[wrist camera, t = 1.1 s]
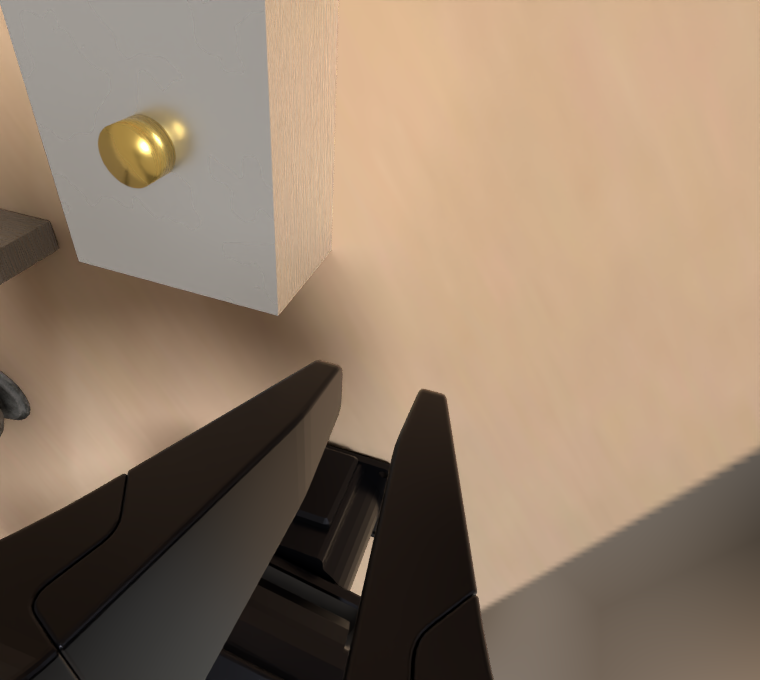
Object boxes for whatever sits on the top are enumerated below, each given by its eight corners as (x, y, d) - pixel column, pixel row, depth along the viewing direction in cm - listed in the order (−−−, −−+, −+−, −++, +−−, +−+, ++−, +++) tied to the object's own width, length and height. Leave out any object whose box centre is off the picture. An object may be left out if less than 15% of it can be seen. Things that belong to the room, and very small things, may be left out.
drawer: (333, 248, 22) (264, 332, 18) (147, 203, 24) (41, 270, 19) (343, -53, 16) (240, -40, 12) (91, -86, 18) (-86, -86, 13)
